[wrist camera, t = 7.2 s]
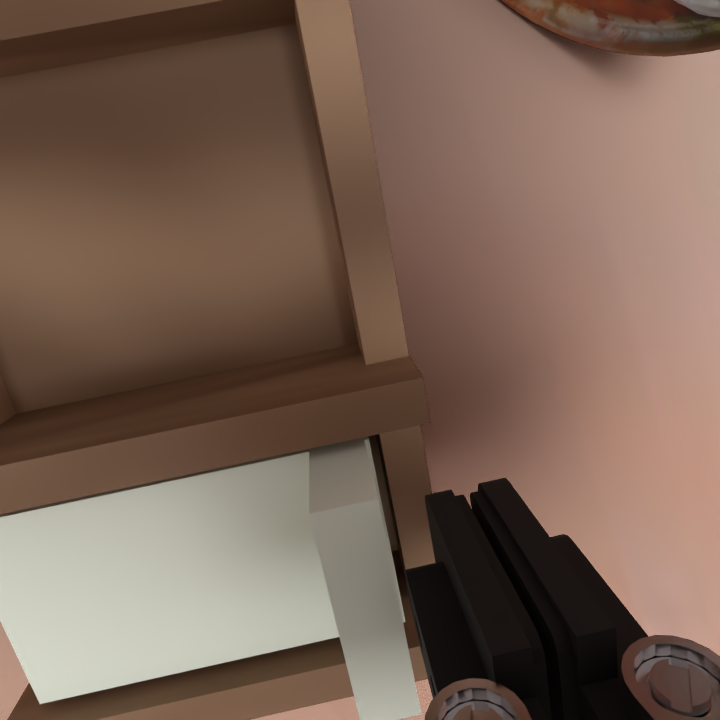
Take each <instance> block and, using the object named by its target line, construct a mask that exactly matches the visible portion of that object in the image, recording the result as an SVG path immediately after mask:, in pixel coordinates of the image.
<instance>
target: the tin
mask: <svg viewBox="0 0 720 720" xmlns="http://www.w3.org/2000/svg"><path fill="white" fill-rule="evenodd" d="M501 1H503V2H504V3H505V4H507V5H508V6H509V7H511V8H512V9H513V10H515V11H516V12H518V13H519V14H521V15H522V16H524V17H526V18H527V19H529V20H531V21H532V22H534V23H535V24H538V25H540V26H542V27H544V28H546V29H548V30H550V31H552V32H554V33H557V34H559V35H561V36H563V37H566V38H568V39H571V40H573V41H576V42H579V43H582V44H585V45H588V46H592V47H595V48H599V49H602V50H606V51H611V52H618V53H624V54H630V55H642V56H664V57H665V56H677V55H686V54H696V53H702V52H709V51H715V50H719V49H720V0H501Z"/></svg>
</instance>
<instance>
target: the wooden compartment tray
mask: <svg viewBox="0 0 720 720" xmlns="http://www.w3.org/2000/svg"><path fill="white" fill-rule="evenodd" d="M429 423H431V422H430V416H429V409H428V403H427V397H426V391H425V385H424V378H423V376H422V375H421V373H420V372H419V370H418V369H417V367H416V366H415V364H414V363H413V361H412V360H411V358H410V357H409V353H408V347H407V341H406V335H405V330H404V324H403V318H402V312H401V306H400V300H399V294H398V288H397V282H396V276H395V270H394V264H393V258H392V252H391V246H390V240H389V234H388V228H387V222H386V216H385V210H384V204H383V198H382V192H381V186H380V180H379V174H378V168H377V162H376V156H375V150H374V144H373V138H372V132H371V127H370V121H369V115H368V109H367V103H366V97H365V91H364V85H363V79H362V73H361V67H360V61H359V55H358V49H357V43H356V37H355V31H354V25H353V19H352V13H351V7H350V1H349V0H0V514H4V513H9V512H13V511H18V510H23V509H28V508H32V507H37V506H42V505H47V504H51V503H56V502H61V501H65V500H70V499H75V498H80V497H84V496H89V495H94V494H98V493H103V492H108V491H113V490H117V489H122V488H127V487H131V486H136V485H141V484H146V483H150V482H155V481H160V480H164V479H169V478H174V477H179V476H183V475H188V474H193V473H197V472H202V471H207V470H212V469H216V468H221V467H226V466H230V465H235V464H240V463H245V462H249V461H254V460H259V459H263V458H268V457H273V456H278V455H282V454H287V453H292V452H296V451H301V450H306V449H311V448H315V447H320V446H325V445H330V444H334V443H339V442H344V441H348V440H353V439H358V438H363V437H367V436H368V437H369V442H370V447H371V452H372V457H373V462H374V467H375V472H376V477H377V482H378V487H379V492H380V497H381V502H382V507H383V512H384V517H385V522H386V527H387V532H388V537H389V542H390V547H391V552H392V557H393V562H394V567H395V572H396V577H397V582H398V587H399V592H400V597H401V602H402V607H403V612H404V617H405V622H403V624H404V629H405V634H406V639H407V644H408V649H409V654H410V659H411V664H412V669H413V674H414V679H415V682H416V681H420V680H425V679H428V677H427V673H426V669H425V665H424V661H423V657H422V653H421V649H420V645H419V641H418V637H417V633H416V628H415V624H414V619H413V615H412V610H411V605H410V600H409V595H408V590H407V585H406V579H405V573H404V570H406V569H410V568H415V567H419V566H424V565H428V564H433V563H435V557H434V551H433V545H432V540H431V534H430V528H429V522H428V516H427V510H426V504H425V495H429V494H432V491H431V485H430V479H429V473H428V467H427V461H426V455H425V449H424V443H423V437H422V431H421V425H424V424H429ZM10 643H11V642H10ZM351 696H354V694H353V690H352V686H351V682H350V677H349V673H348V669H347V665H346V661H345V657H344V653H343V649H342V645H341V641H340V637H336V638H332V639H327V640H323V641H318V642H314V643H310V644H305V645H301V646H296V647H292V648H287V649H283V650H278V651H274V652H270V653H265V654H261V655H256V656H252V657H247V658H243V659H238V660H234V661H230V662H225V663H221V664H216V665H212V666H207V667H203V668H198V669H194V670H190V671H185V672H181V673H176V674H172V675H167V676H163V677H158V678H154V679H149V680H145V681H141V682H136V683H132V684H127V685H123V686H118V687H114V688H109V689H105V690H101V691H96V692H92V693H87V694H83V695H78V696H74V697H69V698H65V699H61V700H56V701H52V702H47V703H43V704H39V701H38V699H37V697H36V695H35V693H34V691H33V689H32V687H31V685H30V682H29V684H28V686H27V687H26V689H25V691H24V692H23V694H22V696H21V698H20V699H19V701H18V703H17V704H16V706H15V708H14V709H13V711H12V713H11V714H10V716H9V718H8V719H7V720H250V719H255V718H259V717H263V716H268V715H272V714H276V713H281V712H285V711H290V710H294V709H298V708H303V707H307V706H311V705H316V704H320V703H324V702H329V701H333V700H338V699H342V698H346V697H351Z"/></svg>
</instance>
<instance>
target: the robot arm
mask: <svg viewBox="0 0 720 720" xmlns="http://www.w3.org/2000/svg"><path fill="white" fill-rule="evenodd" d="M470 500H471V507H472V509H471V507H470V505H469V504H468V502H467V500H466V498H465V496H464V495H458V496H455V495H454V493H453V492H452V490H447V491H442V492H438V493H433V494H429V495H425V504H426V510H427V516H428V522H429V528H430V534H431V540H432V545H433V551H434V557H435V563H433V564H428V565H424V566H419V567H415V568H410V569H406V570H404V573H405V579H406V585H407V590H408V595H409V600H410V605H411V610H412V615H413V619H414V624H415V628H416V633H417V637H418V641H419V645H420V649H421V653H422V657H423V661H424V665H425V669H426V673H427V677H428V681H429V684H430V688H431V692H432V696H433V700H432V701H431V703H430V705H429V708H428V710H427V712H426V714H425V720H720V656H718V655H717V654H716V653H714V652H713V651H711V650H710V649H709V648H707V647H704V646H702V645H700V644H698V643H696V642H694V641H691V640H688V639H684V638H680V637H676V636H667V635H654V636H649V637H648V635H647V634H646V633H645V632H644V630H643V629H642V628H641V626H640V625H639V624H638V623H637V621H636V620H635V619H634V618H633V616H632V615H631V614H630V613H629V611H628V610H627V609H626V607H625V606H624V605H623V604H622V602H621V601H620V600H619V599H618V597H617V596H616V595H615V594H614V592H613V591H612V590H611V589H610V587H609V586H608V585H607V583H606V582H605V581H604V580H603V578H602V577H601V576H600V575H599V573H598V572H597V571H596V570H595V568H594V567H593V566H592V564H591V563H590V562H589V561H588V559H587V558H586V557H585V556H584V554H583V553H582V552H581V551H580V549H579V548H578V547H577V546H576V544H575V543H574V542H573V541H572V540H571V538H570V537H569V536H567V535H564V534H563V535H558V536H554V537H549V536H548V534H547V533H546V531H545V530H544V529H543V527H542V526H541V525H540V523H539V522H538V520H537V519H536V518H535V516H534V515H533V514H532V512H531V511H530V510H529V508H528V507H527V505H526V504H525V503H524V501H523V500H522V499H521V497H520V496H519V494H518V493H517V492H516V490H515V489H514V488H513V486H512V485H511V483H510V482H509V481H508V480H507V479H506V478H502V479H497V480H493V481H488V482H484V483H479V485H478V491H477V492H472V493H471V494H470Z"/></svg>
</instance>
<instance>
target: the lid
mask: <svg viewBox="0 0 720 720" xmlns="http://www.w3.org/2000/svg"><path fill="white" fill-rule="evenodd" d="M0 621H1V624H2V626H3V628H4V630H5V632H6V634H7V636H8V638H9V640H10V642H11V645H12V647H13V649H14V651H15V653H16V655H17V657H18V659H19V661H20V664H21V666H22V668H23V670H24V672H25V674H26V676H27V678H28V680H29V682H30V685H31V687H32V689H33V691H34V693H35V695H36V697H37V699H38V701H39V704H43V703H47V702H52V701H56V700H61V699H65V698H69V697H74V696H78V695H83V694H87V693H92V692H96V691H101V690H105V689H109V688H114V687H118V686H123V685H127V684H132V683H136V682H141V681H145V680H149V679H154V678H158V677H163V676H167V675H172V674H176V673H181V672H185V671H190V670H194V669H198V668H203V667H207V666H212V665H216V664H221V663H225V662H230V661H234V660H238V659H243V658H247V657H252V656H256V655H261V654H265V653H270V652H274V651H278V650H283V649H287V648H292V647H296V646H301V645H305V644H310V643H314V642H318V641H323V640H327V639H332V638H336V637H340V641H341V645H342V649H343V653H344V657H345V661H346V665H347V669H348V673H349V677H350V682H351V686H352V690H353V694H354V698H355V702H356V706H357V710H358V714H359V718H360V720H399V719H403V718H407V717H412V716H416V715H420V714H421V709H420V704H419V699H418V694H417V689H416V684H415V679H414V674H413V669H412V664H411V659H410V654H409V649H408V644H407V639H406V634H405V629H404V624H403V622H405V617H404V612H403V607H402V602H401V597H400V592H399V587H398V582H397V577H396V572H395V567H394V562H393V557H392V552H391V547H390V542H389V537H388V532H387V527H386V522H385V517H384V512H383V507H382V502H381V497H380V492H379V487H378V482H377V477H376V472H375V467H374V462H373V457H372V452H371V447H370V442H369V437H368V436H367V437H363V438H358V439H353V440H348V441H344V442H339V443H334V444H330V445H325V446H320V447H315V448H311V449H306V450H301V451H296V452H292V453H287V454H282V455H278V456H273V457H268V458H263V459H259V460H254V461H249V462H245V463H240V464H235V465H230V466H226V467H221V468H216V469H212V470H207V471H202V472H197V473H193V474H188V475H183V476H179V477H174V478H169V479H164V480H160V481H155V482H150V483H146V484H141V485H136V486H131V487H127V488H122V489H117V490H113V491H108V492H103V493H98V494H94V495H89V496H84V497H80V498H75V499H70V500H65V501H61V502H56V503H51V504H47V505H42V506H37V507H32V508H28V509H23V510H18V511H13V512H9V513H4V514H0Z"/></svg>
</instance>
